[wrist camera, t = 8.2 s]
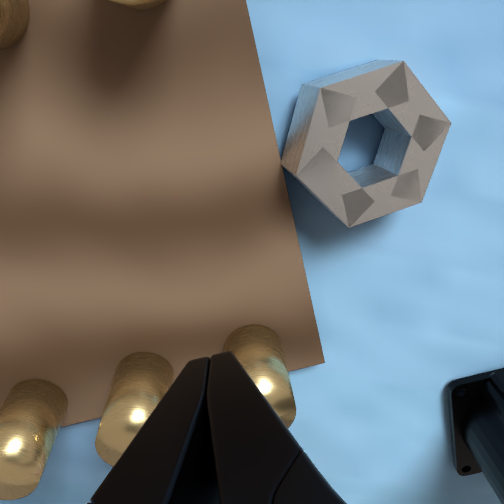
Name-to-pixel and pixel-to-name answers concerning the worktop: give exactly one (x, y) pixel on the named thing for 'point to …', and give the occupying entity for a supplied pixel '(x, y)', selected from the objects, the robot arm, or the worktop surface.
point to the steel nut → (390, 149)
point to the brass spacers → (127, 371)
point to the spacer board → (140, 196)
